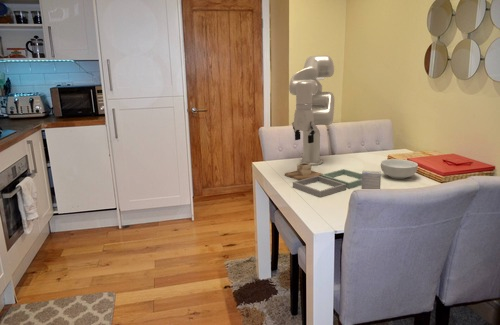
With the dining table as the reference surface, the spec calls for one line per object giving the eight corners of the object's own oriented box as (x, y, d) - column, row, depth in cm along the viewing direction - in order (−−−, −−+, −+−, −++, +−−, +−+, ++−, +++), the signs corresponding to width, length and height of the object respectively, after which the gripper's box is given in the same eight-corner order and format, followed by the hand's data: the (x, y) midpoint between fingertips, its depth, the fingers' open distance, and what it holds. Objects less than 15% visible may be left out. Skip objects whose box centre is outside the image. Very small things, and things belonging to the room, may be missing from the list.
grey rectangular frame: (292, 187, 174) (292, 182, 173) (317, 180, 182) (317, 175, 181) (320, 197, 159) (320, 191, 158) (346, 189, 168) (346, 184, 167)
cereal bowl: (399, 184, 172) (400, 169, 171) (372, 175, 187) (373, 162, 185) (424, 177, 180) (425, 163, 178) (396, 170, 194) (397, 157, 192)
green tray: (320, 179, 183) (320, 174, 183) (343, 173, 192) (343, 168, 191) (349, 188, 169) (349, 183, 168) (372, 181, 177) (372, 176, 177)
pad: (284, 175, 192) (284, 173, 192) (305, 170, 200) (305, 168, 199) (303, 181, 181) (303, 179, 180) (323, 176, 188) (323, 174, 188)
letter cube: (297, 173, 191) (297, 164, 189) (304, 171, 193) (304, 162, 192) (303, 175, 187) (303, 166, 185) (311, 173, 189) (311, 164, 188)
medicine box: (380, 189, 166) (381, 171, 163) (380, 193, 162) (381, 173, 159) (361, 188, 168) (362, 170, 166) (361, 191, 164) (361, 172, 162)
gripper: (286, 106, 186) (287, 139, 191) (310, 109, 172) (310, 145, 177) (298, 104, 190) (298, 137, 195) (322, 107, 176) (321, 142, 181)
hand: (304, 141), depth 186 cm, fingers open, 9 cm apart
